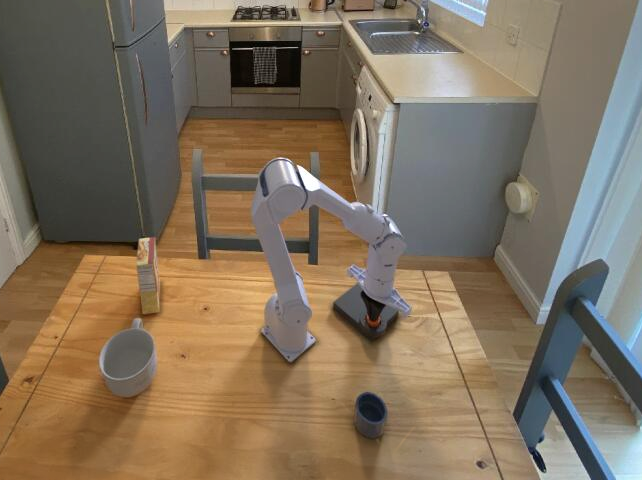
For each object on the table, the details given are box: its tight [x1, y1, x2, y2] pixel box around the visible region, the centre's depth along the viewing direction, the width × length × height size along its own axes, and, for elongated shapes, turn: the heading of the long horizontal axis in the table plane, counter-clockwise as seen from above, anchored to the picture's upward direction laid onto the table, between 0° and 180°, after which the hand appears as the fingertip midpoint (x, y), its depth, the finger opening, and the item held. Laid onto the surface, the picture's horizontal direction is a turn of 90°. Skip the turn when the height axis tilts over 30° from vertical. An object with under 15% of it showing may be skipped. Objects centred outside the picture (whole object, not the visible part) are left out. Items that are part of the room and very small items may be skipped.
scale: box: [332, 282, 400, 342], centre depth 97 cm, size 12×11×4 cm
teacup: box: [98, 317, 158, 398], centre depth 85 cm, size 14×11×8 cm
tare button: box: [366, 315, 380, 327], centre depth 92 cm, size 3×3×2 cm
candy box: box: [135, 236, 161, 315], centre depth 100 cm, size 9×4×15 cm, turn 9°
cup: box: [353, 391, 388, 439], centre depth 76 cm, size 5×6×4 cm
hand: (373, 317), depth 92 cm, fingers closed, pressing on tare button
